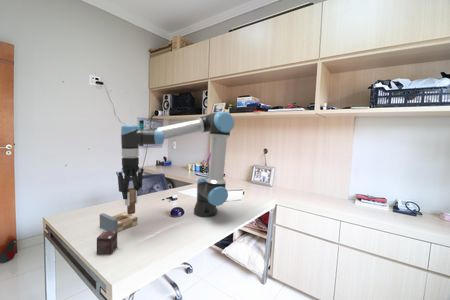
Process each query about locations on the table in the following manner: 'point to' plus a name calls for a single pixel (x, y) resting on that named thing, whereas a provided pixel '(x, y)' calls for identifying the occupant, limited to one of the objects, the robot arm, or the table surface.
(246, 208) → the table surface
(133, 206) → the dowel
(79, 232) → the table surface
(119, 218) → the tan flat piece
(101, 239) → the box
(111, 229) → the board wall
